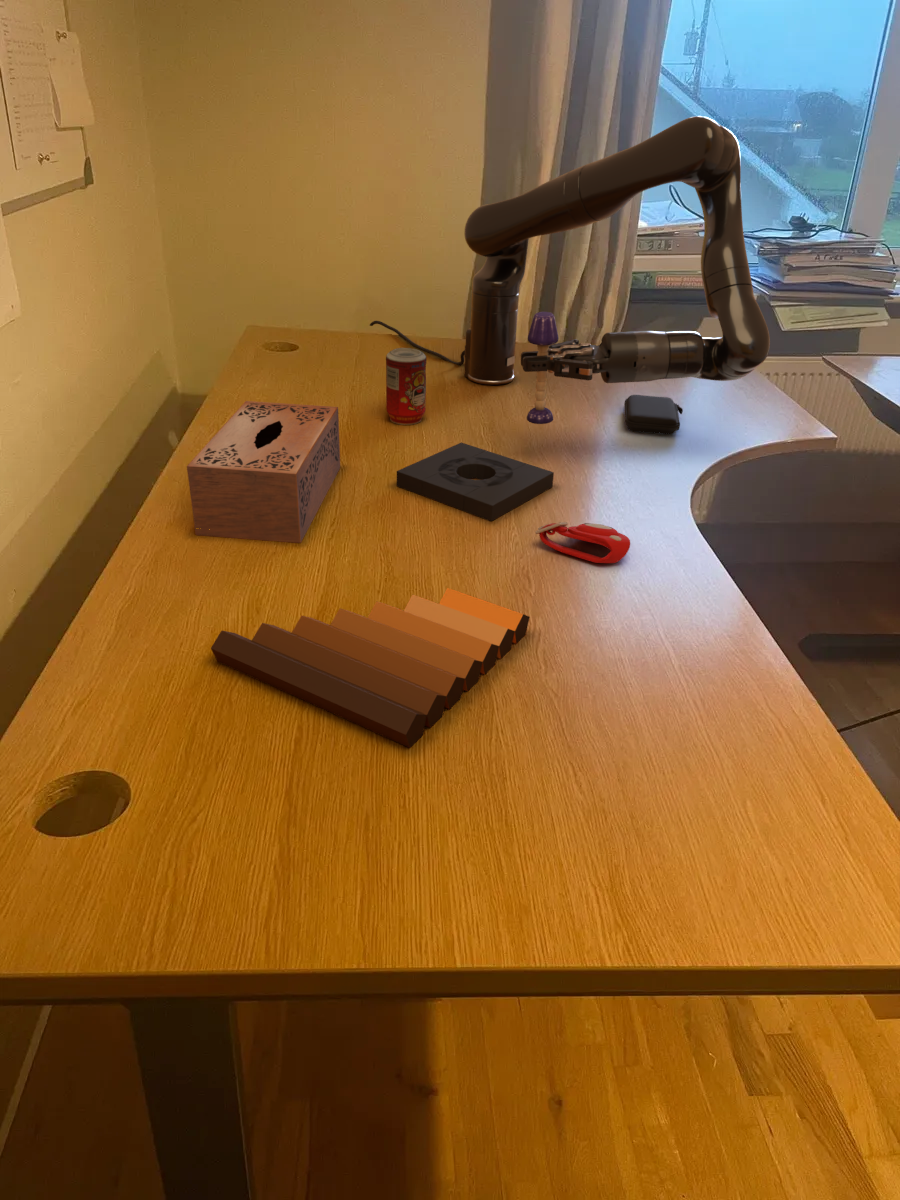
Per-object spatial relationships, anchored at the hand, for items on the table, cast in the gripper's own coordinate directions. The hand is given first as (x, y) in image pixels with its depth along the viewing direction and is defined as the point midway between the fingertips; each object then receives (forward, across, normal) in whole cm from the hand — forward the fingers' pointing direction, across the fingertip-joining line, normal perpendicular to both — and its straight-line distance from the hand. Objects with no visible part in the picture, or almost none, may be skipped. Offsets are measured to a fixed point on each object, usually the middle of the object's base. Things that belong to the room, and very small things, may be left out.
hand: (522, 361), depth 136 cm
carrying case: (-27, -20, +19) cm, 38 cm away
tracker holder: (-5, +29, +17) cm, 34 cm away
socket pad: (+8, +9, +16) cm, 20 cm away
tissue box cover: (+38, +14, +14) cm, 43 cm away
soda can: (+18, -20, +16) cm, 31 cm away
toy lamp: (-3, 0, +10) cm, 10 cm away
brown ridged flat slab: (+23, +53, +15) cm, 59 cm away
